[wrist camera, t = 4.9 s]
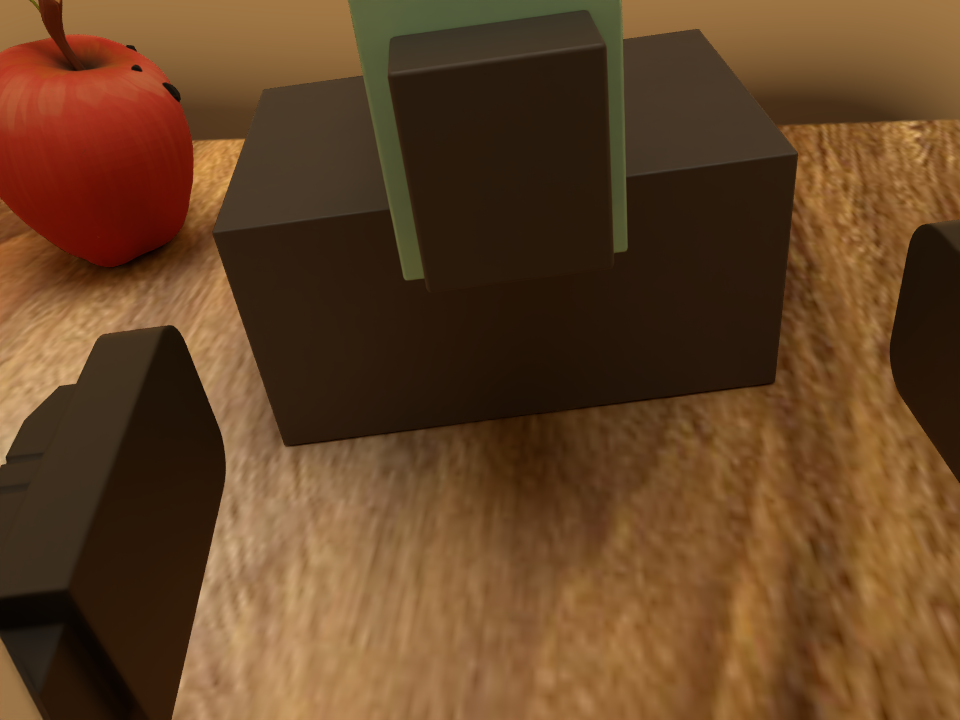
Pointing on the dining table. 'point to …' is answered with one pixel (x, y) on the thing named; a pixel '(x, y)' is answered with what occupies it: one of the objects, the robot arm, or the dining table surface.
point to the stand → (521, 304)
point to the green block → (498, 134)
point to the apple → (92, 144)
